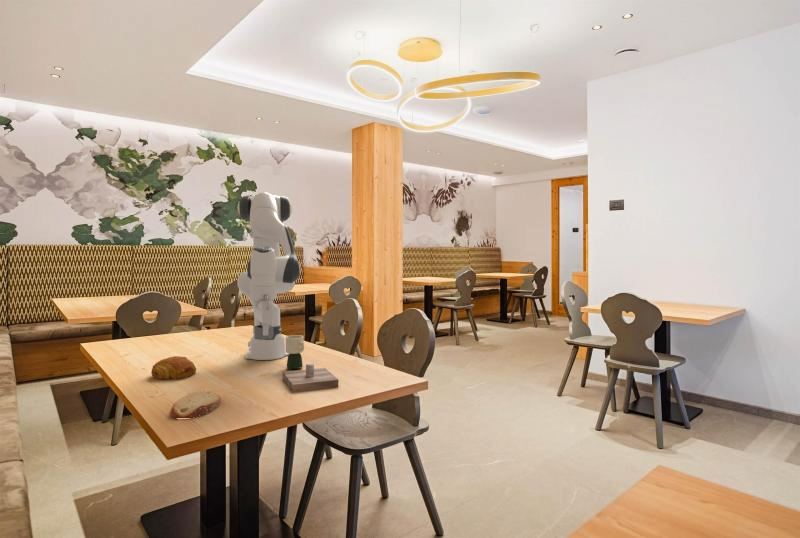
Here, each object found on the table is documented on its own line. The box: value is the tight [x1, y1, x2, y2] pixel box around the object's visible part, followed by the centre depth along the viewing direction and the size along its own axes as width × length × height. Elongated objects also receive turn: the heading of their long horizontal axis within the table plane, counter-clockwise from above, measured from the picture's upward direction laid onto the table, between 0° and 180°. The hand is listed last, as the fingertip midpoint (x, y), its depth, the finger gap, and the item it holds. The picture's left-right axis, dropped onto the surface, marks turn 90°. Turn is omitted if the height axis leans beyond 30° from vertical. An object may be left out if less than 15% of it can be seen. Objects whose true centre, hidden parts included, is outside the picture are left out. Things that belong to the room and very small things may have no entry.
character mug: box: [285, 334, 305, 370], centre depth 191 cm, size 11×7×13 cm, turn 52°
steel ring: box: [253, 325, 274, 340], centre depth 165 cm, size 6×6×4 cm
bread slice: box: [169, 390, 221, 419], centre depth 144 cm, size 18×18×4 cm
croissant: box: [150, 355, 197, 381], centre depth 180 cm, size 14×16×8 cm
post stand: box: [282, 363, 339, 393], centre depth 171 cm, size 18×16×6 cm
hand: (263, 333), depth 165 cm, fingers closed on steel ring, 6 cm apart
